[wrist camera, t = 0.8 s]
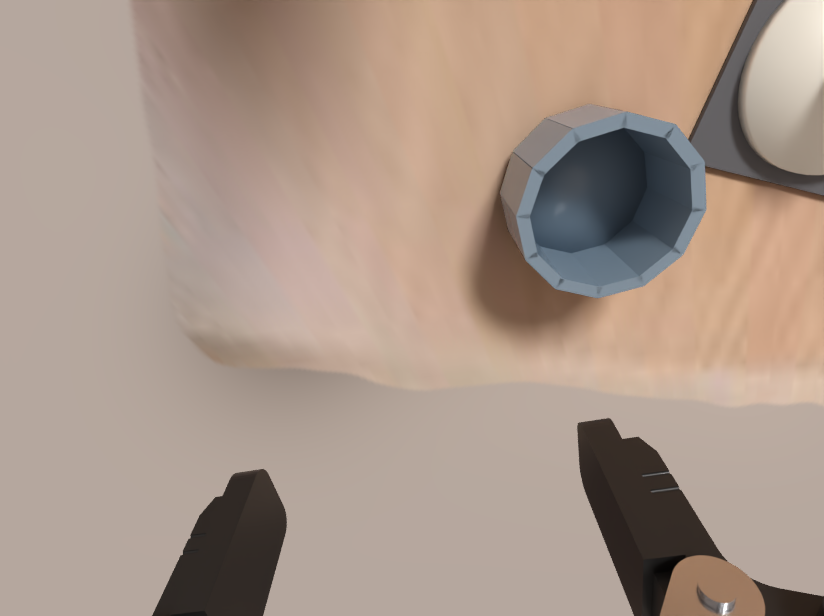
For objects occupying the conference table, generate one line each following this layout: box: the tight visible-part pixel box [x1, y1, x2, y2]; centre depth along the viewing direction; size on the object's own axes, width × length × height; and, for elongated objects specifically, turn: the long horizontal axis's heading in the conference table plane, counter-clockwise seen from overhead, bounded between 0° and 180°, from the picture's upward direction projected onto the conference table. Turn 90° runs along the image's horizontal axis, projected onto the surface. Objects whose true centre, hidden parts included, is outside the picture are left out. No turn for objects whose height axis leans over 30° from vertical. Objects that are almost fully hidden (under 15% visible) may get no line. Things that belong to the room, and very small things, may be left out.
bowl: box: [500, 104, 706, 298], centre depth 32 cm, size 11×11×7 cm
